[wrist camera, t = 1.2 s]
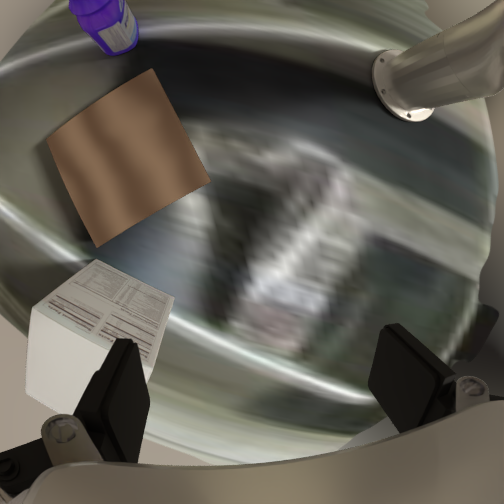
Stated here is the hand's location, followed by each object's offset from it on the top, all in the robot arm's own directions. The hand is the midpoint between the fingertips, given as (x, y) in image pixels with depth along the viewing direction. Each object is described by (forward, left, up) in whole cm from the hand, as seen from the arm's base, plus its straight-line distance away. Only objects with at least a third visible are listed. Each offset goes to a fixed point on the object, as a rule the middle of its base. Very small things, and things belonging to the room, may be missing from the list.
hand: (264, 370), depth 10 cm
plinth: (+7, -15, -30) cm, 34 cm away
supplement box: (+20, +3, -30) cm, 36 cm away
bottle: (+1, -33, -30) cm, 44 cm away
